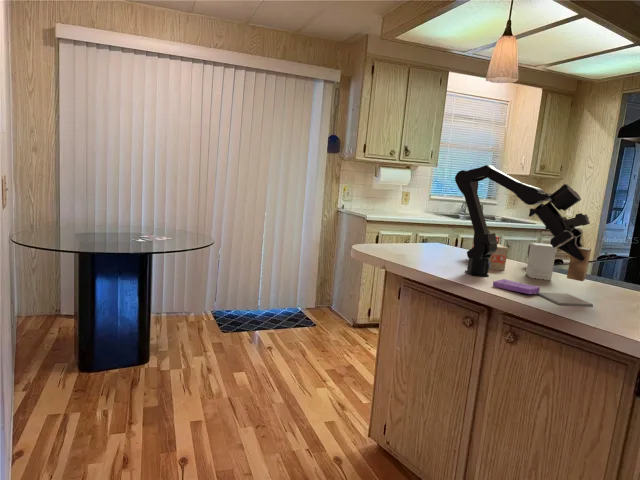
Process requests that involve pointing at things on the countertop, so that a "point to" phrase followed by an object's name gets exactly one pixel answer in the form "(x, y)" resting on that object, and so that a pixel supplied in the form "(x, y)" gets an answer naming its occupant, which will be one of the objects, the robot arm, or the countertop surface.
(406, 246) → the countertop surface
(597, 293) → the countertop surface
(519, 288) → the sponges
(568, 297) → the coaster
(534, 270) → the supplement box
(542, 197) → the robot arm
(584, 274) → the walnut block
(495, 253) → the tan cardboard box
